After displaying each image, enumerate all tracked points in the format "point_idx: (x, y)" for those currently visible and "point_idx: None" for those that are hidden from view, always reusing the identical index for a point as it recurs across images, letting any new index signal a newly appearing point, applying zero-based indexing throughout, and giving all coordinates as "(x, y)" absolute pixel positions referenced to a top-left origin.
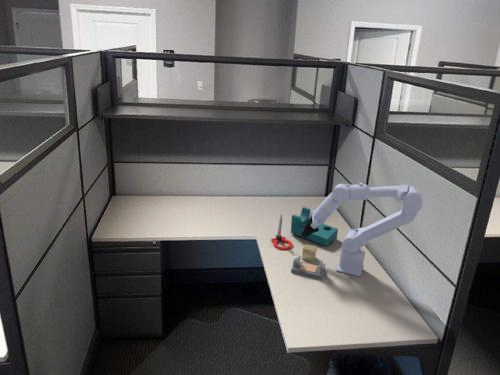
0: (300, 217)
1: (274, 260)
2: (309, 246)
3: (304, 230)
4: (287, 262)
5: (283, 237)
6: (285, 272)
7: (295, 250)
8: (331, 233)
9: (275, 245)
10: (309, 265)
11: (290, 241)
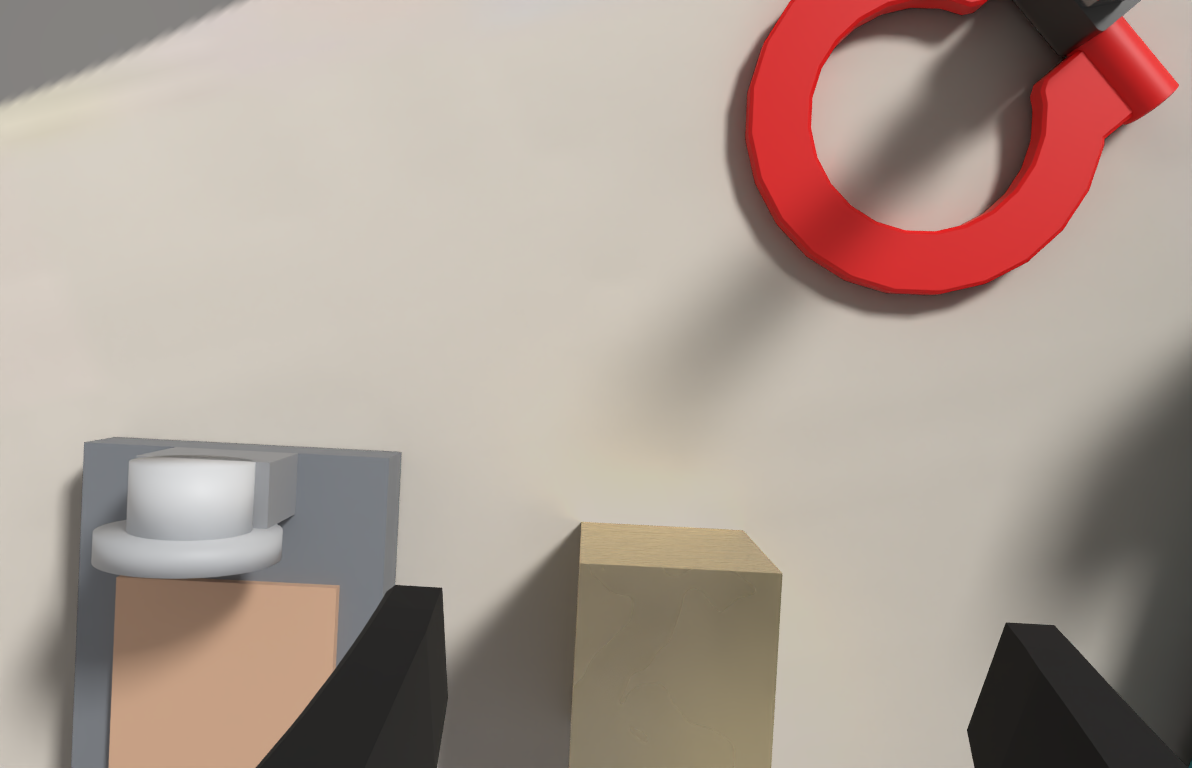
0: None
1: (351, 108)
2: (720, 673)
3: (291, 754)
4: (378, 324)
5: (1131, 75)
6: (71, 356)
7: (821, 372)
8: None
9: (799, 5)
10: (287, 714)
11: (1054, 231)
